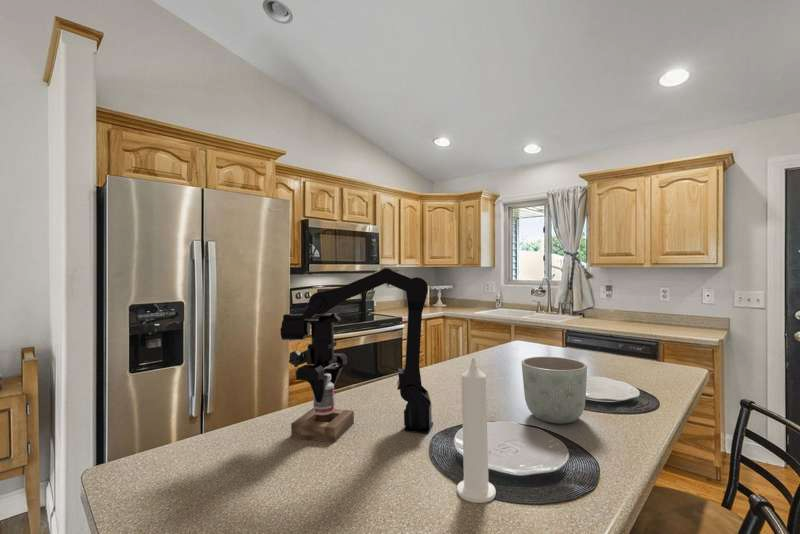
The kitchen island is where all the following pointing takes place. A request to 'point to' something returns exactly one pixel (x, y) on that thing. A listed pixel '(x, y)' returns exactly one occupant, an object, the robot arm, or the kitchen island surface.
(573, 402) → the planter
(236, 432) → the kitchen island surface
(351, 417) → the socket block
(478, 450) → the candle
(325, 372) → the robot arm
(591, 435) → the kitchen island surface
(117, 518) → the kitchen island surface
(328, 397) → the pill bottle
